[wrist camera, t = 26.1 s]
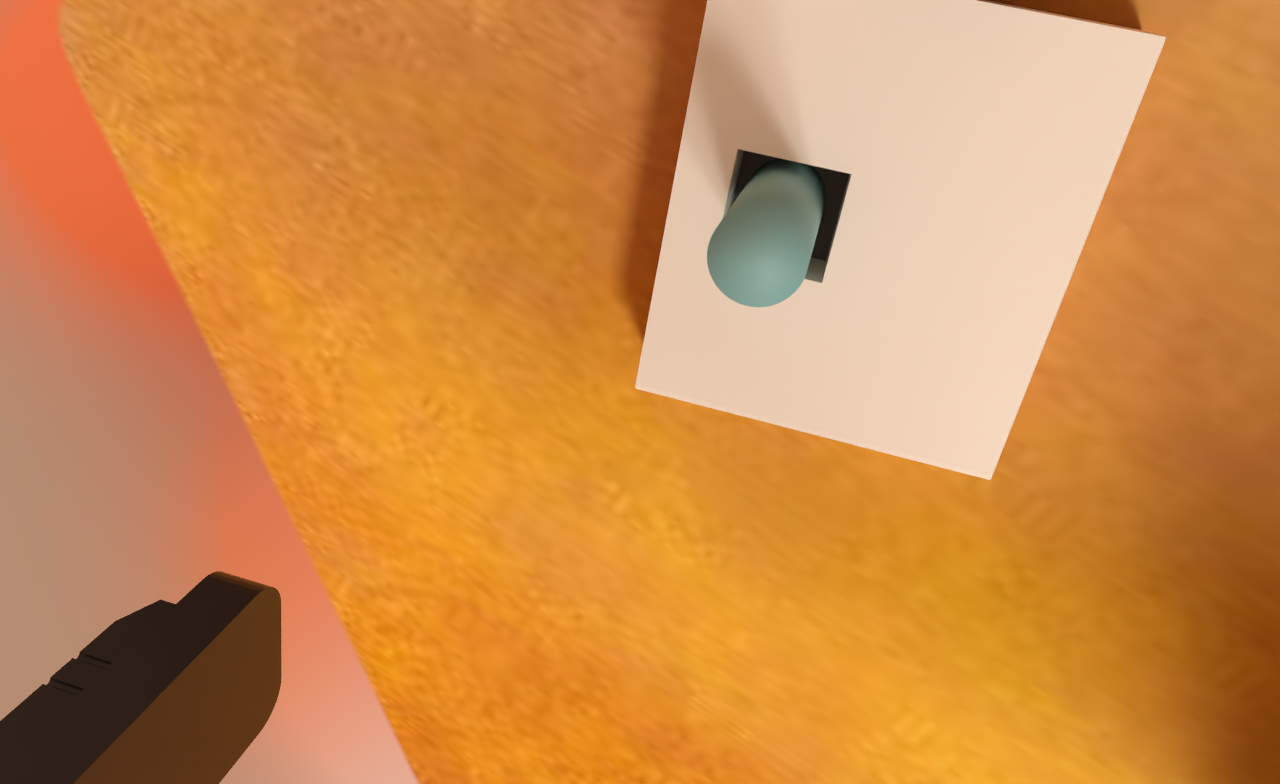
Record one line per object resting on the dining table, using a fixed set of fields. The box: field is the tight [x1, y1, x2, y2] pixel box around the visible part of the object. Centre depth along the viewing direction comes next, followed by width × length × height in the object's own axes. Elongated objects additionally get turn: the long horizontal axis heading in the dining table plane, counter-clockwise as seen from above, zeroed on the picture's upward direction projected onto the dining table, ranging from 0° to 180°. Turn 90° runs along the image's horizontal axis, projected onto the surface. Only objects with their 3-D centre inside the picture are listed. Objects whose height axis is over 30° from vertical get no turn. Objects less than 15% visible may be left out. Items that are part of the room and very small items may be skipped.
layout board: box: [635, 0, 1166, 480], centre depth 34 cm, size 16×14×3 cm
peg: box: [707, 158, 826, 307], centre depth 32 cm, size 3×3×9 cm
